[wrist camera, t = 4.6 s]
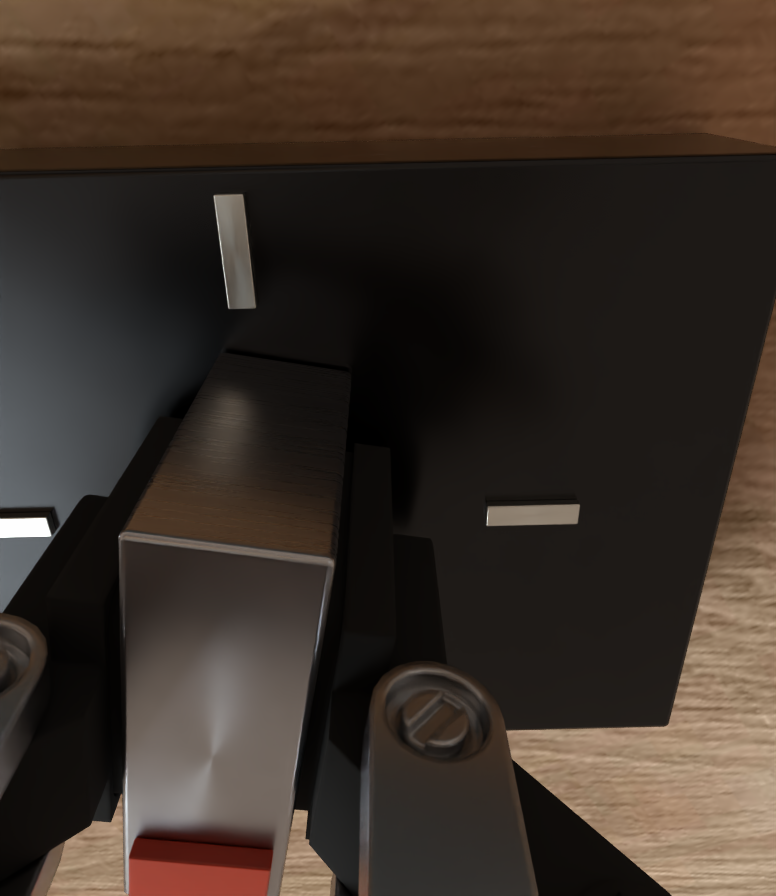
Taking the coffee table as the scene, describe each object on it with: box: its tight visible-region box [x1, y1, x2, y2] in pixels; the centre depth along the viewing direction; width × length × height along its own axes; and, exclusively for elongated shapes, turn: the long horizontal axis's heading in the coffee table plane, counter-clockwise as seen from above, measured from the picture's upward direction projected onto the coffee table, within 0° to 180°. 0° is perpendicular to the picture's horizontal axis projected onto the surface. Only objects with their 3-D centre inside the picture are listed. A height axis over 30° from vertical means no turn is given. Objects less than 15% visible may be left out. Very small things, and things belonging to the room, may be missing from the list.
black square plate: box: [0, 133, 776, 730], centre depth 12 cm, size 14×10×3 cm
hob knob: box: [119, 353, 351, 896], centre depth 9 cm, size 5×2×4 cm, turn 170°
